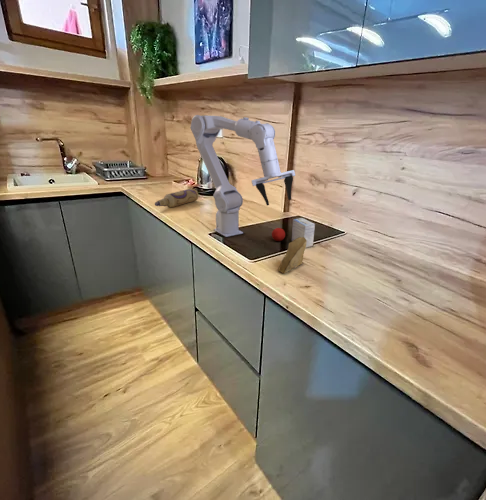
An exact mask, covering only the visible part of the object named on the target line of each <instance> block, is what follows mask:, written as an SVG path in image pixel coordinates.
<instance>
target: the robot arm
mask: <svg viewBox="0 0 486 500" xmlns="http://www.w3.org/2000/svg"><path fill="white" fill-rule="evenodd" d="M189 128H190V131H191V133H192V135H193V137H194V139H195V146H196V148H197V150H198V152H199V155H200V157H201V159H202V161H203V163H204V165H205V168H206V170H207V173H208V175H209V177H210V179H211V181H212V183H213V186H214V188H215V191H214V193H213V195H212V197H213V199H214V205H215V207H216V210H217V211H216V213H215V228H214V229H213V230H214V231H215V232H217V234H220V235H221V236H223V237H225V238H229V237H233V236H237V235H242V234H244V232H243V231H241V230H240V229H239V227H240V225H239V224H240V223H239V222H240V217H239V216H240V210H241V207H242V205H243V203H244V199H243V196H242V194H241V193H240V191H238V189H237V187H236V186H234V185H232V184H231V183H230V182H229V179H228V176H227V175H226V172H225V171H224V167H223V166H222V164H221V161H220V158H219V157H218V155H217V153H216V151H215V148H214V142H216V139H217V138H218V136H219V134H220V132H221V131H222V130H223V129H224V130H229V131H234V132H235V134H236V136H237V137H240V138H244V139H247V140H250V141H252V142H253V143H254V144H255V148H256V149H257V153H258V157H259V161H260V166H261V169H262V174H263V176H262V177H260V178H255V179H251V185H252V187H256V189H257V191H258V192H259V193H260V195H261V197H262V198H263V200H264V203H265V204H266V206H270V202H269V198H268V196H267V191H266V187H265V184H267V183H271V182H276V181H279V180H283V182H284V187H285V189H286V196H287V200H288V201H290V200H292V188H293V187H292V186H293V182H294V177H295V176H296V172H295V169H292V170H288V171H283V172H281V167H280V163H279V159H278V158H279V157H278V153H277V150H276V145H275V141H274V139H275V137H276V130H275V127H274V126H273V125H272V124H270V123H261V121H260V120H255V121H254V120H250V119H249V117H245V116H244V117H243V118H242V117H241V118H239V119H238V120H234V119H231V118H228V117H224V116H223V115H199V114H195V115H193V117H192V118H191V121H190V127H189Z"/></svg>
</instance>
